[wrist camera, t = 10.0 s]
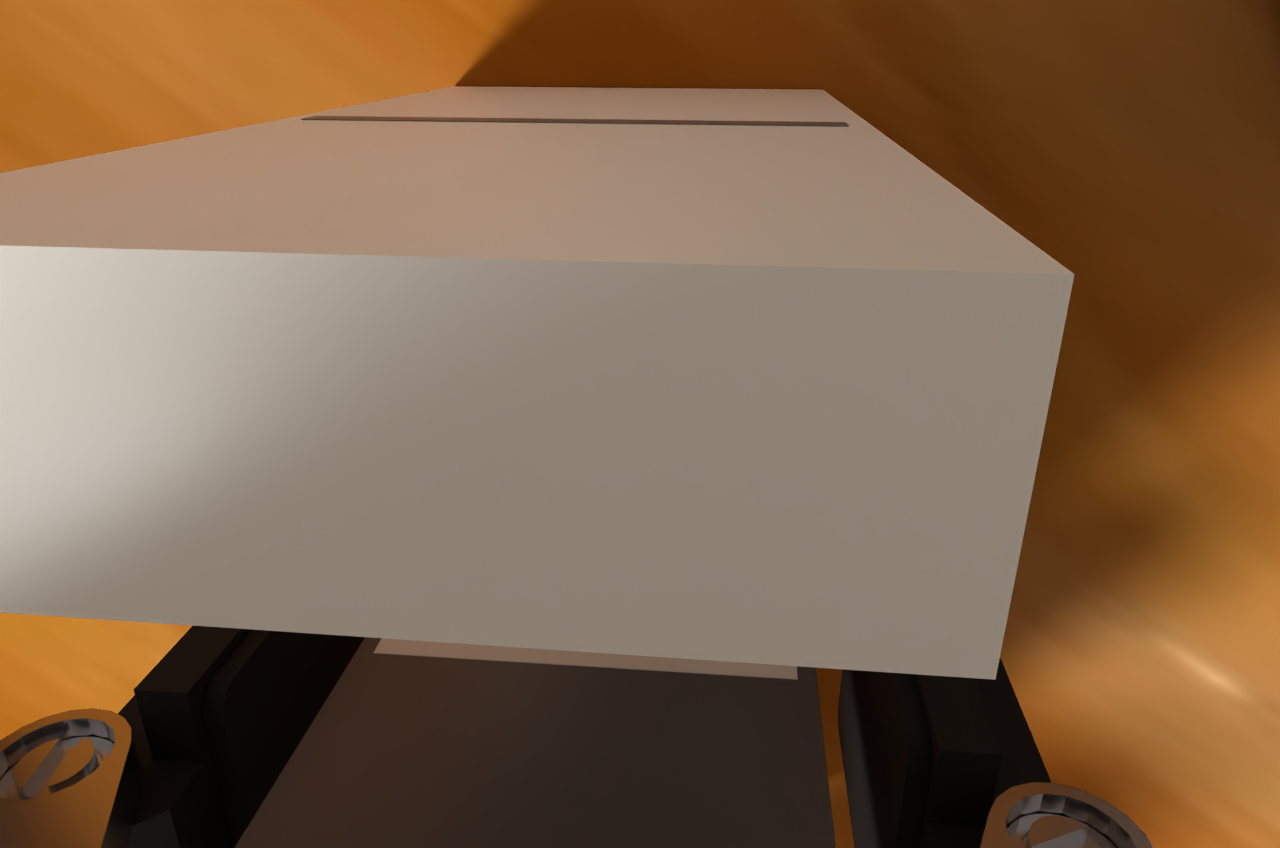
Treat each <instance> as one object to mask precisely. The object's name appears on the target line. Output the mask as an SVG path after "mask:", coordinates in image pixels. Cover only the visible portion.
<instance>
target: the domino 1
mask: <svg viewBox="0 0 1280 848" xmlns="http://www.w3.org/2000/svg"><path fill="white" fill-rule="evenodd" d="M1074 275H1075V274H1074V273H1072V272H1071V271H1070V270H1068V269H1067V268H1065V267H1064V266H1063V265H1061V264H1060V263H1059V262H1057V261H1056V260H1055V259H1053V258H1052V257H1050V256H1049V255H1048V254H1046V253H1045V252H1044V251H1042V250H1041V249H1040V248H1038V247H1037V246H1035V245H1034V244H1033V243H1031V242H1030V241H1029V240H1027V239H1026V238H1025V237H1023V236H1022V235H1020V234H1019V233H1018V232H1016V231H1015V230H1014V229H1012V228H1011V227H1010V226H1008V225H1007V224H1006V223H1004V222H1003V221H1001V220H1000V219H999V218H997V217H996V216H995V215H993V214H992V213H991V212H989V211H988V210H986V209H985V208H984V207H982V206H981V205H980V204H978V203H977V202H976V201H974V200H973V199H971V198H970V197H969V196H967V195H966V194H965V193H963V192H962V191H961V190H959V189H958V188H956V187H955V186H954V185H952V184H951V183H950V182H948V181H947V180H946V179H944V178H943V177H941V176H940V175H939V174H937V173H936V172H935V171H933V170H932V169H931V168H929V167H928V166H926V165H925V164H924V163H922V162H921V161H920V160H918V159H917V158H916V157H914V156H913V155H911V154H910V153H909V152H907V151H906V150H905V149H903V148H902V147H901V146H899V145H898V144H896V143H895V142H894V141H892V140H891V139H890V138H888V137H887V136H886V135H884V134H883V133H881V132H880V131H879V130H877V129H876V128H875V127H873V126H872V125H871V124H869V123H868V122H867V121H865V120H864V119H862V118H861V117H860V116H858V115H857V114H856V113H854V112H853V111H852V110H850V109H849V108H847V107H846V106H845V105H843V104H842V103H841V102H839V101H838V100H837V99H835V98H834V97H832V96H831V95H830V94H828V93H827V92H826V91H824V90H819V89H703V88H588V87H472V86H453V87H448V88H443V89H437V90H432V91H427V92H422V93H416V94H411V95H406V96H401V97H396V98H390V99H385V100H380V101H375V102H369V103H364V104H359V105H354V106H349V107H343V108H338V109H333V110H328V111H322V112H317V113H312V114H307V115H302V116H296V117H291V118H286V119H281V120H275V121H270V122H265V123H260V124H255V125H249V126H244V127H239V128H234V129H228V130H223V131H218V132H213V133H208V134H202V135H197V136H192V137H187V138H181V139H176V140H171V141H166V142H161V143H155V144H150V145H145V146H140V147H135V148H129V149H124V150H119V151H114V152H108V153H103V154H98V155H93V156H88V157H82V158H77V159H72V160H67V161H61V162H56V163H51V164H46V165H41V166H35V167H30V168H25V169H20V170H14V171H9V172H4V173H0V612H1V613H16V614H30V615H45V616H60V617H75V618H90V619H104V620H119V621H134V622H149V623H164V624H178V625H193V626H208V627H223V628H238V629H252V630H267V631H282V632H297V633H312V634H326V635H341V636H356V637H371V638H386V639H400V640H415V641H430V642H445V643H460V644H474V645H489V646H504V647H519V648H534V649H548V650H563V651H578V652H593V653H608V654H623V655H637V656H652V657H667V658H682V659H697V660H711V661H726V662H741V663H756V664H771V665H785V666H800V667H815V668H830V669H845V670H859V671H874V672H889V673H904V674H919V675H933V676H948V677H963V678H978V679H993V680H996V675H997V669H998V664H999V659H1000V654H1001V649H1002V644H1003V639H1004V633H1005V628H1006V623H1007V618H1008V613H1009V608H1010V603H1011V598H1012V592H1013V587H1014V582H1015V577H1016V572H1017V567H1018V562H1019V557H1020V551H1021V546H1022V541H1023V536H1024V531H1025V526H1026V521H1027V516H1028V510H1029V505H1030V500H1031V495H1032V490H1033V485H1034V480H1035V475H1036V469H1037V464H1038V459H1039V454H1040V449H1041V444H1042V439H1043V434H1044V428H1045V423H1046V418H1047V413H1048V408H1049V403H1050V398H1051V393H1052V387H1053V382H1054V377H1055V372H1056V367H1057V362H1058V357H1059V352H1060V346H1061V341H1062V336H1063V331H1064V326H1065V321H1066V316H1067V310H1068V305H1069V300H1070V295H1071V290H1072V285H1073V280H1074Z"/></svg>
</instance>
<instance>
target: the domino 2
mask: <svg viewBox="0 0 1280 848" xmlns="http://www.w3.org/2000/svg"><path fill="white" fill-rule="evenodd" d="M235 848H836V847H835V838H834V829H833V820H832V811H831V802H830V793H829V784H828V775H827V766H826V757H825V749H824V740H823V731H822V722H821V713H820V704H819V695H818V686H817V677H816V668H815V667H800V666H785V665H771V664H756V663H741V662H726V661H711V660H697V659H682V658H667V657H652V656H637V655H623V654H608V653H593V652H578V651H563V650H548V649H534V648H519V647H504V646H489V645H474V644H460V643H445V642H430V641H415V640H400V639H386V638H371V637H365V638H364V640H363V642H362V643H361V645H360V646H359V648H358V650H357V651H356V653H355V654H354V656H353V658H352V659H351V661H350V662H349V664H348V666H347V667H346V669H345V671H344V672H343V674H342V675H341V677H340V679H339V680H338V682H337V683H336V685H335V687H334V688H333V690H332V692H331V693H330V695H329V696H328V698H327V700H326V701H325V703H324V704H323V706H322V708H321V709H320V711H319V712H318V714H317V716H316V717H315V719H314V721H313V722H312V724H311V725H310V727H309V729H308V730H307V732H306V733H305V735H304V737H303V738H302V740H301V741H300V743H299V745H298V746H297V748H296V750H295V751H294V753H293V754H292V756H291V758H290V759H289V761H288V762H287V764H286V766H285V767H284V769H283V771H282V772H281V774H280V775H279V777H278V779H277V780H276V782H275V783H274V785H273V787H272V788H271V790H270V791H269V793H268V795H267V796H266V798H265V800H264V801H263V803H262V804H261V806H260V808H259V809H258V811H257V812H256V814H255V816H254V817H253V819H252V821H251V822H250V824H249V825H248V827H247V829H246V830H245V832H244V833H243V835H242V837H241V838H240V840H239V841H238V843H237V845H236V846H235Z"/></svg>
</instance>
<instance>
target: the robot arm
mask: <svg viewBox="0 0 1280 848" xmlns="http://www.w3.org/2000/svg"><path fill="white" fill-rule="evenodd" d="M364 638H365V637H356V636H341V635H326V634H312V633H297V632H282V631H267V630H252V629H238V628H223V627H208V626H192V627H191V628H190V629H189V631H188V632H187V633H186V634H185V635H184V636H183V637H182V638H181V639H180V640H179V641H178V642H177V644H176V645H175V646H174V647H173V648H172V649H171V650H170V651H169V652H168V653H167V654H166V655H165V657H164V658H163V659H162V660H161V661H160V662H159V663H158V664H157V665H156V666H155V667H154V668H153V669H152V671H151V672H150V673H149V674H148V675H147V676H146V677H145V678H144V679H143V680H142V681H141V682H140V684H139V685H138V686H137V687H136V688H135V689H134V692H135V696H134V697H133V698H132V699H131V700H130V701H129V702H128V703H127V704H126V705H125V707H124V708H123V709H122V710H121V711H120V712H119V713H118V714H116V713H114V712H112V711H108V710H100V709H93V708H92V709H81V710H70V711H66V712H63V713H59V714H55V715H51V716H47V717H45V718H42V719H40V720H37V721H35V722H33V723H30V724H28V725H26V726H23V727H21V728H20V729H18V730H16V731H15V732H13V733H12V734H10V735H8V736H7V737H5V738H3V739H2V740H0V848H235V846H236V845H237V843H238V841H239V840H240V838H241V837H242V835H243V833H244V832H245V830H246V829H247V827H248V825H249V824H250V822H251V821H252V819H253V817H254V816H255V814H256V812H257V811H258V809H259V808H260V806H261V804H262V803H263V801H264V800H265V798H266V796H267V795H268V793H269V791H270V790H271V788H272V787H273V785H274V783H275V782H276V780H277V779H278V777H279V775H280V774H281V772H282V771H283V769H284V767H285V766H286V764H287V762H288V761H289V759H290V758H291V756H292V754H293V753H294V751H295V750H296V748H297V746H298V745H299V743H300V741H301V740H302V738H303V737H304V735H305V733H306V732H307V730H308V729H309V727H310V725H311V724H312V722H313V721H314V719H315V717H316V716H317V714H318V712H319V711H320V709H321V708H322V706H323V704H324V703H325V701H326V700H327V698H328V696H329V695H330V693H331V692H332V690H333V688H334V687H335V685H336V683H337V682H338V680H339V679H340V677H341V675H342V674H343V672H344V671H345V669H346V667H347V666H348V664H349V662H350V661H351V659H352V658H353V656H354V654H355V653H356V651H357V650H358V648H359V646H360V645H361V643H362V642H363V640H364ZM838 725H839V736H840V743H841V751H842V758H843V765H844V773H845V780H846V787H847V795H848V802H849V809H850V816H851V824H852V831H853V838H854V846H855V848H1153V847H1152V845H1151V844H1150V842H1149V840H1148V838H1147V837H1146V835H1145V834H1144V833H1143V831H1142V830H1141V829H1140V828H1139V827H1138V826H1137V825H1136V824H1135V823H1134V822H1133V821H1132V820H1131V819H1130V818H1129V817H1128V816H1127V815H1125V814H1124V813H1122V812H1121V811H1120V810H1118V809H1117V808H1115V807H1114V806H1112V805H1111V804H1109V803H1108V802H1106V801H1105V800H1103V799H1101V798H1099V797H1096V796H1094V795H1092V794H1090V793H1087V792H1085V791H1083V790H1081V789H1078V788H1073V787H1069V786H1065V785H1061V784H1057V783H1051V780H1050V778H1049V776H1048V773H1047V771H1046V768H1045V766H1044V763H1043V761H1042V758H1041V756H1040V754H1039V751H1038V749H1037V746H1036V744H1035V741H1034V739H1033V736H1032V734H1031V732H1030V729H1029V727H1028V724H1027V722H1026V719H1025V717H1024V715H1023V712H1022V710H1021V707H1020V705H1019V702H1018V700H1017V697H1016V695H1015V693H1014V690H1013V688H1012V685H1011V683H1010V680H1009V678H1008V675H1007V673H1006V671H1005V668H1004V666H1003V663H1002V661H1001V658H1000V659H999V664H998V669H997V675H996V680H993V679H978V678H963V677H948V676H933V675H919V674H904V673H889V672H874V671H859V670H845V669H843V670H842V679H841V688H840V697H839V709H838Z"/></svg>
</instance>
